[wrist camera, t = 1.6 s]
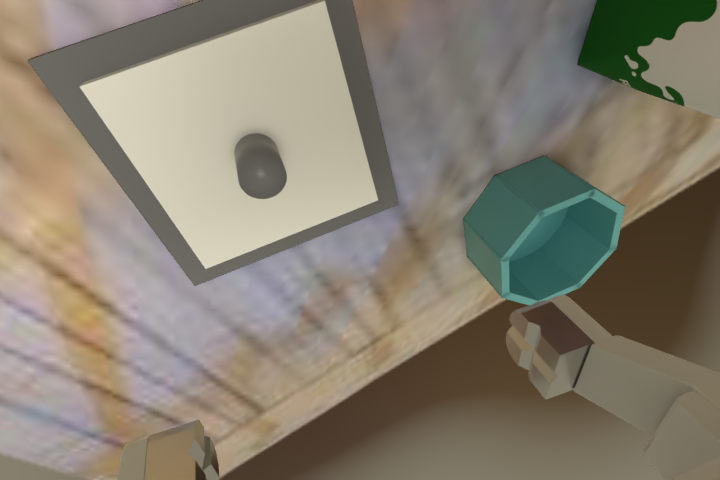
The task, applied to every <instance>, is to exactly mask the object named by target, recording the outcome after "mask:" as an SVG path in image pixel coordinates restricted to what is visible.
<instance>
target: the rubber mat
mask: <svg viewBox="0 0 720 480" xmlns="http://www.w3.org/2000/svg"><path fill="white" fill-rule="evenodd" d="M314 1H317V0H201V1H198V2H195V3H192V4H189V5H186V6H183V7H181V8H178V9H175V10H172V11H169V12H166V13H163V14H160V15H157V16H154V17H151V18H148V19H145V20H142V21H139V22H137V23H134V24H131V25H128V26H125V27H122V28H119V29H116V30H113V31H110V32H107V33H104V34H101V35H98V36H95V37H93V38H90V39H87V40H84V41H81V42H78V43H75V44H72V45H69V46H66V47H63V48H60V49H57V50H54V51H51V52H48V53H46V54H43V55H40V56H37V57H34V58H31V59H29V60H28V63H29V64H30V65H31V67H32V68H33V69H34V71H35V72H36V73H37V75H38V76H39V77H40V79H41V80H42V81H43V83H44V84H45V85H46V87H47V88H48V89H49V91H50V92H51V93H52V95H53V96H54V97H55V99H56V100H57V101H58V103H59V104H60V106H61V107H62V108H63V110H64V111H65V112H66V114H67V115H68V116H69V118H70V119H71V120H72V122H73V123H74V124H75V126H76V127H77V128H78V130H79V131H80V132H81V134H82V135H83V136H84V138H85V139H86V140H87V142H88V143H89V144H90V146H91V147H92V149H93V150H94V151H95V153H96V154H97V155H98V157H99V158H100V159H101V161H102V162H103V163H104V165H105V166H106V167H107V169H108V170H109V171H110V173H111V174H112V175H113V177H114V178H115V179H116V181H117V182H118V183H119V185H120V186H121V187H122V189H123V190H124V192H125V193H126V194H127V196H128V197H129V198H130V200H131V201H132V202H133V204H134V205H135V206H136V208H137V209H138V210H139V212H140V213H141V214H142V216H143V217H144V218H145V220H146V221H147V222H148V224H149V225H150V226H151V228H152V229H153V230H154V232H155V233H156V235H157V236H158V237H159V239H160V240H161V241H162V243H163V244H164V245H165V247H166V248H167V249H168V251H169V252H170V253H171V255H172V256H173V257H174V259H175V260H176V261H177V263H178V264H179V265H180V267H181V268H182V269H183V271H184V272H185V273H186V275H187V276H188V278H189V279H190V280H191V282H192V283H193V284H194V286H196V285H199V284H201V283H204V282H206V281H209V280H211V279H214V278H216V277H219V276H221V275H224V274H226V273H229V272H231V271H234V270H236V269H239V268H241V267H244V266H246V265H249V264H251V263H254V262H256V261H259V260H261V259H264V258H266V257H269V256H271V255H274V254H276V253H279V252H281V251H284V250H286V249H289V248H291V247H294V246H296V245H299V244H301V243H304V242H306V241H309V240H311V239H313V238H316V237H318V236H321V235H323V234H326V233H328V232H331V231H333V230H336V229H338V228H341V227H343V226H346V225H348V224H351V223H353V222H356V221H358V220H361V219H363V218H366V217H368V216H371V215H373V214H376V213H378V212H381V211H383V210H386V209H388V208H391V207H393V206H396V205H398V204H399V203H398V199H397V194H396V190H395V185H394V181H393V177H392V172H391V168H390V164H389V159H388V155H387V151H386V146H385V142H384V137H383V133H382V129H381V124H380V120H379V116H378V111H377V107H376V103H375V98H374V94H373V90H372V85H371V81H370V76H369V72H368V68H367V63H366V59H365V55H364V50H363V46H362V42H361V37H360V33H359V28H358V24H357V20H356V15H355V11H354V7H353V2H352V0H324V1H325V3H326V7H327V11H328V14H329V18H330V22H331V25H332V29H333V33H334V37H335V40H336V44H337V48H338V52H339V55H340V59H341V63H342V67H343V70H344V74H345V78H346V82H347V85H348V89H349V93H350V97H351V100H352V104H353V108H354V112H355V115H356V119H357V123H358V126H359V130H360V134H361V138H362V141H363V145H364V149H365V153H366V156H367V160H368V164H369V168H370V171H371V175H372V179H373V183H374V186H375V190H376V194H377V198H378V201H375V202H373V203H370V204H368V205H365V206H363V207H360V208H358V209H355V210H353V211H350V212H348V213H345V214H343V215H340V216H338V217H335V218H333V219H330V220H328V221H325V222H323V223H320V224H318V225H315V226H312V227H310V228H307V229H305V230H302V231H300V232H297V233H295V234H292V235H290V236H287V237H285V238H282V239H280V240H277V241H275V242H272V243H270V244H267V245H265V246H262V247H260V248H257V249H255V250H252V251H250V252H247V253H245V254H242V255H240V256H237V257H235V258H232V259H230V260H227V261H225V262H222V263H220V264H217V265H215V266H212V267H210V268H207V269H205V267H204V266H203V265H202V263H201V262H200V260H199V259H198V257H197V256H196V254H195V253H194V252H193V250H192V249H191V247H190V246H189V244H188V243H187V241H186V240H185V239H184V237H183V236H182V234H181V233H180V231H179V230H178V228H177V227H176V226H175V224H174V223H173V221H172V220H171V218H170V217H169V215H168V214H167V213H166V211H165V210H164V208H163V207H162V205H161V204H160V202H159V201H158V200H157V198H156V197H155V195H154V194H153V192H152V191H151V189H150V188H149V187H148V185H147V184H146V182H145V181H144V179H143V178H142V176H141V175H140V174H139V172H138V171H137V169H136V168H135V166H134V165H133V163H132V162H131V161H130V159H129V158H128V156H127V155H126V153H125V152H124V150H123V149H122V148H121V146H120V145H119V143H118V142H117V140H116V139H115V137H114V136H113V135H112V133H111V132H110V130H109V129H108V127H107V126H106V124H105V123H104V122H103V120H102V119H101V117H100V116H99V114H98V113H97V111H96V110H95V109H94V107H93V106H92V104H91V103H90V101H89V100H88V98H87V97H86V96H85V94H84V93H83V91H82V90H81V88H80V85H81V84H82V83H83V82H85V81H88V80H91V79H94V78H97V77H100V76H102V75H105V74H108V73H111V72H114V71H117V70H120V69H122V68H125V67H128V66H131V65H134V64H137V63H140V62H142V61H145V60H148V59H151V58H154V57H157V56H160V55H163V54H165V53H168V52H171V51H174V50H177V49H180V48H183V47H185V46H188V45H191V44H194V43H197V42H200V41H203V40H205V39H208V38H211V37H214V36H217V35H220V34H223V33H225V32H228V31H231V30H234V29H237V28H240V27H243V26H245V25H248V24H251V23H254V22H257V21H260V20H263V19H266V18H268V17H271V16H274V15H277V14H280V13H283V12H286V11H288V10H291V9H294V8H297V7H300V6H303V5H306V4H308V3H311V2H314Z"/></svg>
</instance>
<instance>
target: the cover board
mask: <svg viewBox="0 0 720 480" xmlns="http://www.w3.org/2000/svg"><path fill="white" fill-rule="evenodd" d="M80 88H81V90H82V91H83V93H84V94H85V96H86V97H87V98H88V100H89V101H90V103H91V104H92V106H93V107H94V109H95V110H96V111H97V113H98V114H99V116H100V117H101V119H102V120H103V122H104V123H105V124H106V126H107V127H108V129H109V130H110V132H111V133H112V135H113V136H114V137H115V139H116V140H117V142H118V143H119V145H120V146H121V148H122V149H123V150H124V152H125V153H126V155H127V156H128V158H129V159H130V161H131V162H132V163H133V165H134V166H135V168H136V169H137V171H138V172H139V174H140V175H141V176H142V178H143V179H144V181H145V182H146V184H147V185H148V187H149V188H150V189H151V191H152V192H153V194H154V195H155V197H156V198H157V200H158V201H159V202H160V204H161V205H162V207H163V208H164V210H165V211H166V213H167V214H168V215H169V217H170V218H171V220H172V221H173V223H174V224H175V226H176V227H177V228H178V230H179V231H180V233H181V234H182V236H183V237H184V239H185V240H186V241H187V243H188V244H189V246H190V247H191V249H192V250H193V252H194V253H195V254H196V256H197V257H198V259H199V260H200V262H201V263H202V265H203V266H204V267H205V269H207V268H210V267H212V266H215V265H217V264H220V263H222V262H225V261H227V260H230V259H232V258H235V257H237V256H240V255H242V254H245V253H247V252H250V251H252V250H255V249H257V248H260V247H262V246H265V245H267V244H270V243H272V242H275V241H277V240H280V239H282V238H285V237H287V236H290V235H292V234H295V233H297V232H300V231H302V230H305V229H307V228H310V227H312V226H315V225H318V224H320V223H323V222H325V221H328V220H330V219H333V218H335V217H338V216H340V215H343V214H345V213H348V212H350V211H353V210H355V209H358V208H360V207H363V206H365V205H368V204H370V203H373V202H375V201H378V198H377V194H376V190H375V186H374V183H373V179H372V175H371V171H370V168H369V164H368V160H367V156H366V153H365V149H364V145H363V141H362V138H361V134H360V130H359V126H358V123H357V119H356V115H355V112H354V108H353V104H352V100H351V97H350V93H349V89H348V85H347V82H346V78H345V74H344V70H343V67H342V63H341V59H340V55H339V52H338V48H337V44H336V40H335V37H334V33H333V29H332V25H331V22H330V18H329V14H328V11H327V7H326V3H325V1H324V0H317V1H314V2H311V3H308V4H306V5H303V6H300V7H297V8H294V9H291V10H288V11H286V12H283V13H280V14H277V15H274V16H271V17H268V18H266V19H263V20H260V21H257V22H254V23H251V24H248V25H245V26H243V27H240V28H237V29H234V30H231V31H228V32H225V33H223V34H220V35H217V36H214V37H211V38H208V39H205V40H203V41H200V42H197V43H194V44H191V45H188V46H185V47H183V48H180V49H177V50H174V51H171V52H168V53H165V54H163V55H160V56H157V57H154V58H151V59H148V60H145V61H142V62H140V63H137V64H134V65H131V66H128V67H125V68H122V69H120V70H117V71H114V72H111V73H108V74H105V75H102V76H100V77H97V78H94V79H91V80H88V81H85V82H83V83H82V84H81V85H80Z"/></svg>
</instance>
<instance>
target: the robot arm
mask: <svg viewBox="0 0 720 480" xmlns="http://www.w3.org/2000/svg"><path fill="white" fill-rule="evenodd" d="M509 321H510V323H511V324H512V325H513V326H512V327H511V328H510V329H509V331H508V332H507V337H506V343H507V347H508V350H509V352H510V354H511V356H512V358H513V359H514V361H515V362H516V363H517V364H518V366H521V367H523V368H525V369H527V370H529V379H530V381H531V382H532V383H533V384H534V386H535V387H536V388H537V389H538V391H539V392H540V393H541V394H542V395H543V397H544V398H545V399H549V398H551V397H554V396H557V395H559V394H562V393H565V392H568V391H570V390H573V389H574V392H576V393H578V394H580V395H581V396H583V397H585V398H586V399H588V400H590V401H592V402H594V403H595V404H597V405H599V406H600V407H602V408H604V409H606V410H608V411H609V412H611V413H613V414H614V415H616V416H618V417H620V418H621V419H623V420H625V421H627V422H628V423H630V424H632V425H634V426H636V427H637V428H639V429H641V430H642V431H644V432H646V433H648V434H649V435H651V436H652V438H651V439H650V440H649V442H648V443H647V445H646V446H645V448H644V457H645V458H646V459H647V460H648V461H649V462H650V463H651V464H652V466H653V467H654V468H655V469H656V470H657V471H658V472H659V473H660V475H661V476H662V477H663V478H664V479H665V480H720V373H718V372H715V371H712V370H710V369H707V368H704V367H702V366H699V365H696V364H694V363H691V362H688V361H686V360H683V359H680V358H678V357H675V356H672V355H669V354H666V353H664V352H661V351H658V350H656V349H653V348H651V347H648V346H645V345H643V344H640V343H637V342H635V341H632V340H629V339H627V338H624V337H621V336H618V335H616V336H612V335H610V334H609V333H608V332H607V331H606V330H605V329H604V328H603V327H601V326H600V325H599V324H598V323H597V322H596V321H595V320H594V319H593V318H591V317H590V316H589V315H588V314H587V313H586V312H585V311H583V310H582V309H581V308H580V307H579V306H578V305H577V304H576V303H574V301H572V300H571V299H570V298H569V297H567V296H565V295H559V296H556V297H554V298H551V299H548V300H545V301H544V300H543V301H541V302H538V303H535V304H532V305H530V306H527V307H524V308H521V309H519V310H516V311H514V312H513V313H512V314H511V315H510V320H509ZM118 480H219V465H218V460H217V454H216V450H215V447H214V445H213V442H212V440H211V439H210V437H207V436H204V427H203V425H202V424H201V422H200V421H199V420H196V421H193V422H190V423H187V424H184V425H181V426H178V427H175V428H171V429H168V430H165V431H162V432H159V433H156V434H153V435H149V436H146V437H143V438H141V439H138V440H135V441H132V442H129V443H126V444H125V446H124V448H123V451H122V453H121V460H120V467H119V475H118Z"/></svg>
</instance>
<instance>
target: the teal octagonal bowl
mask: <svg viewBox="0 0 720 480" xmlns="http://www.w3.org/2000/svg"><path fill="white" fill-rule="evenodd" d="M624 209H625V206H624V205H623V204H621V203H619V202H618V201H616V200H615V199H613V198H611V197H610V196H608V195H607V194H605V193H604V192H602V191H600V190H599V189H597V188H596V187H594V186H592V185H591V184H589V183H588V182H586V181H584V180H583V179H581V178H580V177H578V176H576V175H575V174H572V173H570V172H569V171H567V170H566V169H564V168H562V167H561V166H559V165H558V164H556V163H555V162H553V161H551V160H550V159H548V158H547V157H545V156H542V157H539V158H537V159H534V160H532V161H529V162H527V163H525V164H522V165H520V166H517V167H515V168H512V169H510V170H507V171H505V172H502V173H500V174H497V175H495V176H494V177H493V179H492V180H491V181H490V183H489V184H488V186H487V187H486V188H485V190H484V191H483V193H482V194H481V195H480V197H479V198H478V199H477V201H476V202H475V204H474V205H473V206H472V208H471V209H470V211H469V212H468V213H467V215H466V216H465V218H463V221H464V230H465V240H466V249H467V257H468V258H469V259H470V260H471V262H472V263H473V264H474V265H475V266H476V268H477V269H478V270H479V271H480V272H481V274H482V275H483V276H484V277H485V278H486V279H487V281H488V282H489V283H490V284H491V285H492V287H493V288H494V289H495V290H496V291H497V293H498V294H499V295H500V296H501V297H502V298H505V299H509V300H512V301H516V302H519V303H523V304H526V305H532V304H535V303H538V302H541V301H543V300H544V301H545V300H548V299H551V298H554V297H556V296H559V295H564V294H566V293H569V292H571V291H573V290H575V289H578V288H580V287H581V286H582V285H583V284H584V283H585V281H586V280H587V279H588V278H589V277H590V276H591V275H592V274H593V273H594V272H595V271H596V270H597V269H598V268H599V266H600V265H601V264H602V263H603V262H604V261H605V260H606V259H607V258H608V257H609V256H610V255H611V254H612V252H613V251H614V250H615V249H616V247H617V242H618V238H619V233H620V228H621V223H622V219H623V214H624Z"/></svg>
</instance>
